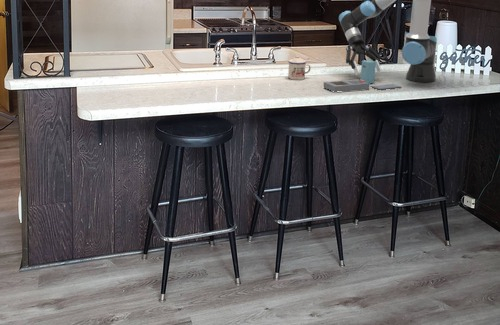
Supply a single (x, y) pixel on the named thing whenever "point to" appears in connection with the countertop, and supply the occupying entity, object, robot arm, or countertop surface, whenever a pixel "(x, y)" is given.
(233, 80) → the countertop surface
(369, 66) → the brick
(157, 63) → the countertop surface
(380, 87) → the phone
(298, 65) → the teacup with lid
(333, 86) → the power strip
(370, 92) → the countertop surface
